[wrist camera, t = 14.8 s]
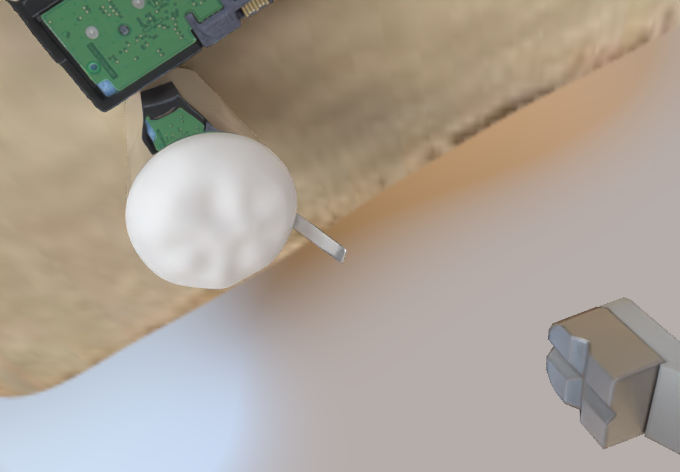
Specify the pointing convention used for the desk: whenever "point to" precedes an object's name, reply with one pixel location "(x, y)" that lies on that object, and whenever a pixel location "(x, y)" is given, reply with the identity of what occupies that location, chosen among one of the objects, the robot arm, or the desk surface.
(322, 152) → the desk surface
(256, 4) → the disk drive
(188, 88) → the milkshake
